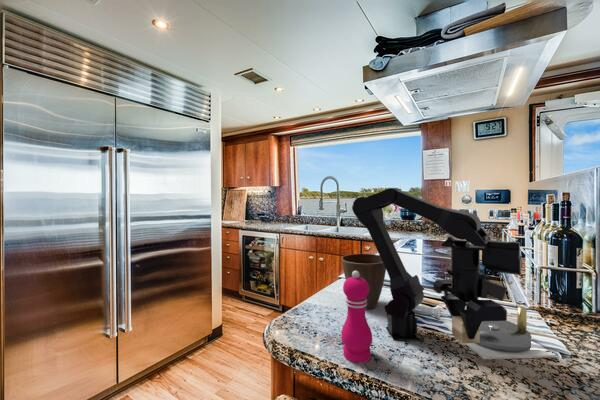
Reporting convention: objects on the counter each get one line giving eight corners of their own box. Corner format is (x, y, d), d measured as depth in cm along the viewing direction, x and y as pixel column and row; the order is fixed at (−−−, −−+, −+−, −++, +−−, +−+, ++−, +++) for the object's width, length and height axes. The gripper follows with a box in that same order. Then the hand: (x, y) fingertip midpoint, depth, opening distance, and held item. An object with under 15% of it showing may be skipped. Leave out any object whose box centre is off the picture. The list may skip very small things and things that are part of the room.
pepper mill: (338, 347, 69) (337, 267, 69) (366, 345, 70) (365, 266, 69) (345, 365, 62) (344, 275, 62) (377, 363, 63) (376, 274, 62)
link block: (462, 343, 63) (461, 323, 63) (452, 334, 67) (452, 315, 67) (479, 342, 63) (479, 323, 63) (468, 334, 67) (468, 315, 67)
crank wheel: (543, 357, 62) (543, 321, 62) (465, 345, 68) (465, 312, 67) (517, 326, 77) (517, 297, 76) (454, 319, 82) (454, 291, 82)
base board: (483, 359, 63) (483, 357, 63) (443, 324, 80) (443, 322, 80) (556, 357, 64) (556, 355, 64) (501, 322, 81) (501, 321, 81)
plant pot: (342, 313, 89) (341, 263, 89) (342, 296, 104) (341, 253, 103) (391, 315, 87) (390, 264, 86) (384, 297, 101) (383, 253, 101)
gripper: (533, 278, 56) (533, 356, 56) (473, 257, 74) (474, 315, 75) (478, 280, 55) (478, 358, 56) (432, 258, 74) (432, 316, 74)
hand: (465, 334), depth 65 cm, fingers closed on link block, 4 cm apart
